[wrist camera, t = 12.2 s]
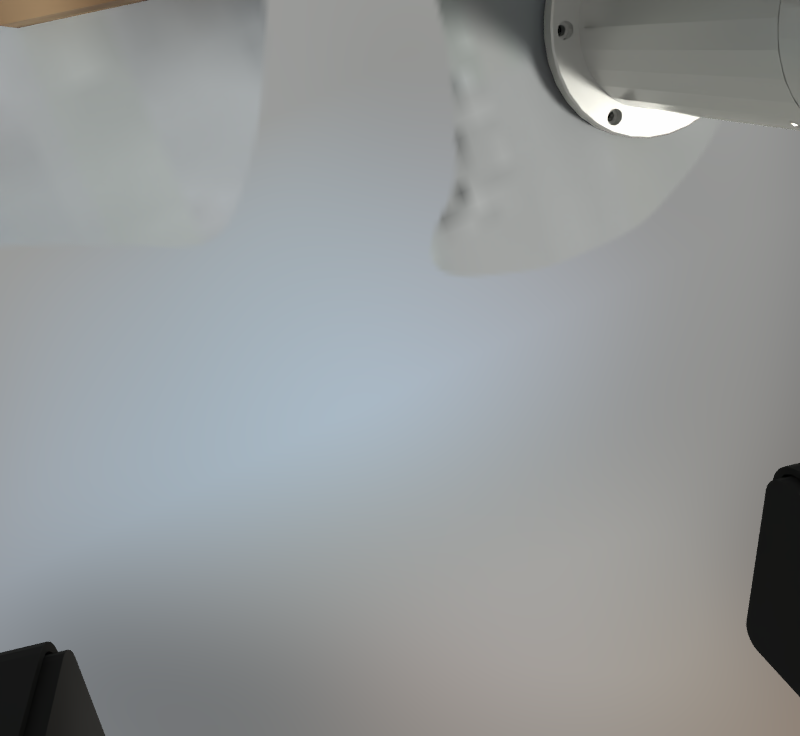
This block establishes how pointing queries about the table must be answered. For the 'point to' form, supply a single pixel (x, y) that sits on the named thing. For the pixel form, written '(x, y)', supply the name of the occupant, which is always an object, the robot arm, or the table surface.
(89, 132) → the table surface
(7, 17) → the pedestal
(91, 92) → the table surface
